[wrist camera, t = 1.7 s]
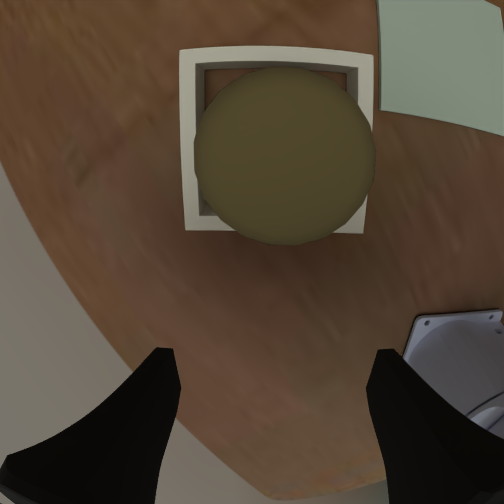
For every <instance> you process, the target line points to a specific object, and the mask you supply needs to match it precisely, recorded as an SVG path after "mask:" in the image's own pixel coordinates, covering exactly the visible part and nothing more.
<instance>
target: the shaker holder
mask: <svg viewBox="0 0 504 504" xmlns="http://www.w3.org/2000/svg"><path fill="white" fill-rule="evenodd" d="M272 66H278V67H298V68H304V69H307V70H317V71H329V72H339V73H347V83H346V92H347V93H348V94H349V95H351V96H352V97H353V98H354V99H355V101H356V102H357V104H358V105H359V107H360V109H361V110H362V112H363V113H364V115H365V117H366V118H367V120H368V122H369V123H370V127H371V131H372V121H373V55H368V54H362V53H355V52H347V51H339V50H329V49H318V48H305V47H285V46H229V47H210V48H196V49H185V50H180V65H179V89H180V139H181V165H182V185H183V202H184V217H185V230H229V231H235V230H234V229H233V228H231V227H230V226H228V225H227V224H225V223H224V222H223V221H221V220H220V219H219V217H218V216H217V215H216V213H215V212H214V211H213V209H212V208H211V207H210V206H209V204H208V203H207V202H206V200H205V199H204V197H203V194H202V192H201V189H200V186H199V183H198V180H197V178H196V175H195V172H194V138H195V135H196V132H197V129H198V126H199V123H200V119H201V116H202V114H203V113H204V111H205V70H210V69H233V68H268V67H272ZM366 203H367V196H366V198H365V201H364V203H363V205H362V206H361V207H360V208H359V209H358V210H357V212H356V213H355V214H354V215H353V216H352V217H351V218H350V220H349V221H348V222H347V223H346V224H345V225H343V226H342V227H340V228H339V229H337V230H335V231H334V232H332V233H363V229H364V221H365V213H366Z"/></svg>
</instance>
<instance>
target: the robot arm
mask: <svg viewBox="0 0 504 504" xmlns="http://www.w3.org/2000/svg"><path fill="white" fill-rule="evenodd" d="M502 314H503V313H502V311H501V310H500V309H497V310H488V311H477V312H466V313H453V314H440V315H424V316H419V317H417V318H416V320H415V322H414V325H413V328H412V331H411V334H410V337H409V340H408V343H407V346H406V349H405V352H404V355H403V358H402V357H401V356H400V355H399V354H398V353H397V352H396V351H395V350H394V349H380V350H378V351H377V354H376V358H375V361H374V364H373V368H372V371H371V374H370V377H369V380H368V383H367V386H366V392H367V399H368V405H369V411H370V415H371V418H372V422H373V425H374V429H375V432H376V436H377V439H378V443H379V446H380V450H381V453H382V457H383V460H384V465H385V470H386V477H387V484H388V494H389V504H504V326H503V325H502V323H501V322H500V320H501V317H502ZM426 321H427V322H426ZM425 322H426V323H425ZM180 392H181V384H180V380H179V375H178V371H177V366H176V361H175V356H174V351H173V349H171V348H159V347H157V348H155V349H154V350H153V351H152V352H151V354H150V355H149V356H148V357H147V358H146V359H145V360H144V361H143V362H142V363H141V365H140V366H139V367H138V368H137V369H136V370H135V371H134V372H133V373H132V374H131V375H130V376H129V377H128V378H127V379H126V380H125V381H124V382H123V383H122V384H121V385H120V386H119V387H118V388H117V389H116V390H115V391H114V392H113V393H112V394H111V395H110V396H109V397H108V398H107V399H105V400H104V401H103V402H102V403H101V404H100V405H99V406H97V407H96V408H95V409H94V410H92V411H91V412H90V413H89V414H87V415H86V416H85V417H83V418H82V419H80V420H79V421H77V422H76V423H74V424H73V425H71V426H70V427H68V428H66V429H65V430H63V431H62V432H60V433H58V434H56V435H55V436H53V437H51V438H49V439H47V440H45V441H43V442H41V443H38V444H36V445H34V446H32V447H29V448H26V449H24V450H21V451H18V452H16V453H13V454H10V455H7V457H6V459H5V461H4V463H3V464H2V466H1V468H0V492H1V493H2V494H4V495H5V496H6V497H7V498H8V499H10V500H11V501H12V502H14V503H15V504H154V503H155V496H156V489H157V483H158V477H159V471H160V467H161V463H162V459H163V456H164V452H165V449H166V446H167V443H168V440H169V436H170V433H171V430H172V426H173V423H174V420H175V417H176V413H177V409H178V404H179V398H180ZM0 504H1V503H0Z"/></svg>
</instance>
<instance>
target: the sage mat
mask: <svg viewBox="0 0 504 504" xmlns="http://www.w3.org/2000/svg"><path fill="white" fill-rule="evenodd" d="M376 3H377V17H378V38H379V110H382V111H389V112H396V113H402V114H408V115H414V116H420V117H425V118H430V119H435V120H440V121H445V122H450V123H454V124H458V125H463V126H467V127H471V128H475V129H479V130H482V131H486V132H490V133H493V134H497V135H500V136H504V32H503V24H502V17H501V10H500V8H499V7H497V6H495V5H493V4H491V3H488V2H486V1H484V0H376Z"/></svg>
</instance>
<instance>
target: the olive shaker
mask: <svg viewBox="0 0 504 504" xmlns="http://www.w3.org/2000/svg"><path fill="white" fill-rule="evenodd" d="M375 161H376V148H375V143H374V139H373V135H372V131H371V127H370V123H369V122H368V120H367V118H366V117H365V115H364V113H363V112H362V110H361V109H360V107H359V105H358V104H357V102H356V101H355V99H354V98H353V97H352V96H351V95H349V94H348V93H347V92H346V91H345V90H344V89H342V88H341V87H340V86H339V85H338V84H336V83H335V82H334V81H333V80H331V79H330V78H328V77H325V76H323V75H320V74H317V73H315V72H312V71H310V70H307V69H304V68H298V67H278V66H272V67H268V68H264V69H261V70H257V71H254V72H250V73H247V74H244V75H242V76H241V77H239V78H238V79H236V80H235V81H233V82H232V83H230V84H229V85H227V86H226V87H225V88H223V89H222V90H220V91H219V92H218V94H217V95H216V96H215V98H214V99H213V100H212V102H211V103H210V104H209V106H208V107H207V108H206V110H205V111H204V113H203V114H202V116H201V119H200V123H199V126H198V129H197V132H196V135H195V138H194V172H195V175H196V178H197V180H198V183H199V186H200V189H201V192H202V194H203V197H204V199H205V200H206V202H207V203H208V204H209V206H210V207H211V208H212V209H213V211H214V212H215V213H216V215H217V216H218V217H219V219H220V220H221V221H223V222H224V223H225V224H227V225H228V226H230V227H231V228H233V229H234V230H235V231H237V232H238V233H240V234H241V235H242V236H245V237H248V238H251V239H254V240H257V241H260V242H263V243H266V244H269V245H300V244H304V243H308V242H311V241H315V240H319V239H322V238H324V237H326V236H327V235H329V234H331V233H332V232H334V231H335V230H337V229H339V228H340V227H342V226H343V225H345V224H346V223H347V222H348V221H349V220H350V218H351V217H352V216H353V215H354V214H355V213H356V212H357V210H358V209H359V208H360V207H361V206H362V205H363V203H364V201H365V198H366V196H367V194H368V191H369V189H370V187H371V184H372V182H373V180H374V172H375Z"/></svg>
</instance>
